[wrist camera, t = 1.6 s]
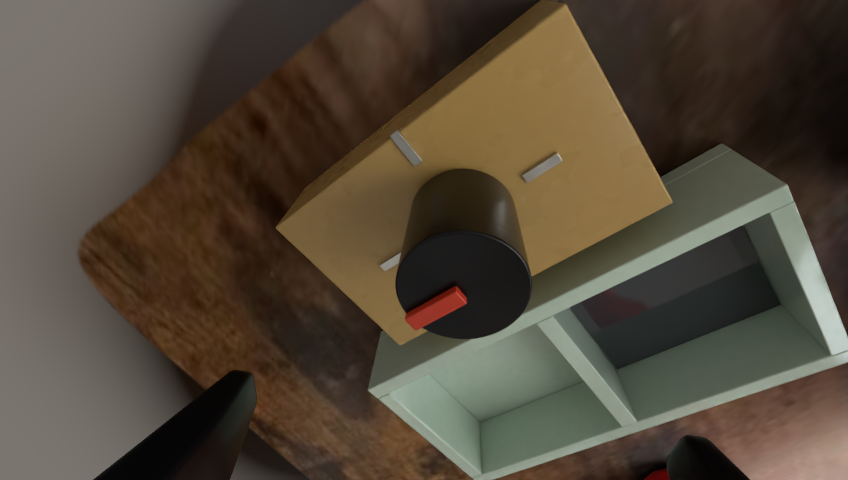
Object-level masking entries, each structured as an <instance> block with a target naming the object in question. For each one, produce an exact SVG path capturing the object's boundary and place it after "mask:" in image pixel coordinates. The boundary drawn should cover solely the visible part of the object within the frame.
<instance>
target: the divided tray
mask: <svg viewBox="0 0 848 480" xmlns="http://www.w3.org/2000/svg"><path fill="white" fill-rule="evenodd" d="M660 178H661V180H662V182H663V183H664V185H665V187H666V189H667V191H668V193H669V194H670V196H671V198H672V200H673V202H672V203H671V204H669V205H668V206H666V207H664V208H662V209H660V210H658V211H656V212H654V213H652V214H650V215H648V216H647V217H645V218H643V219H641V220H639V221H637V222H635V223H633V224H631V225H629V226H627V227H626V228H624V229H622V230H620V231H618V232H616V233H614V234H612V235H610V236H608V237H606V238H605V239H603V240H601V241H599V242H597V243H595V244H593V245H591V246H589V247H587V248H585V249H584V250H582V251H580V252H578V253H576V254H574V255H572V256H570V257H568V258H566V259H564V260H563V261H561V262H559V263H557V264H555V265H553V266H551V267H549V268H547V269H545V270H543V271H542V272H540V273H538V274H536V275H534V276H532V294H531V298H530V300H529V303H528V305H527V307H526V309H525V310H524V312H523V313H522V314H521V316H520V317H519V318H518V319H517V320H516V321H515V322H514V323H513V324H511V325H510V326H508V327H507V328H505V329H504V330H502V331H500V332H498V333H495V334H493V335H490V336H486V337H482V338H477V339H452V338H447V337H443V336H440V335H436V334H434V333H431V332H429V331H427V332H425V333H423V334H421V335H419V336H417V337H416V338H414V339H412V340H410V341H408V342H406V343H404V344H402V345H399V344H398V343H397V342H395V341H394V340H393V339H392V338H391V337H390V336H389V335H388V334H387V333H386V332H385V331H384V330H383V331H381V334H380V338H379V343H378V347H377V351H376V356H375V360H374V364H373V369H372V373H371V377H370V382H369V386H368V391H369V392H370V393H371V394H372V395H374V396H375V397H376V398H378V399H379V400H380V401H381V402H382V403H383V404H385V405H386V406H387V407H388V408H389V409H390V410H392V411H393V412H394V413H395V414H396V415H398V416H399V417H400V418H401V419H402V420H403V421H405V422H406V423H407V424H408V425H409V426H411V427H412V428H413V429H414V430H415V431H417V432H418V433H419V434H420V435H421V436H422V437H424V438H425V439H426V440H427V441H428V442H430V443H431V444H432V445H433V446H434V447H435V448H437V449H438V450H439V451H440V452H441V453H443V454H444V455H445V456H446V457H447V458H449V459H450V460H451V461H452V462H453V463H454V464H456V465H457V466H458V467H459V468H460V469H462V470H463V471H464V472H465V473H466V474H467V475H469V476H470V477H472V479H473V480H494V479H497V478H500V477H503V476H506V475H509V474H512V473H515V472H518V471H521V470H524V469H527V468H530V467H533V466H536V465H539V464H542V463H545V462H548V461H551V460H554V459H557V458H560V457H563V456H566V455H569V454H572V453H575V452H578V451H581V450H584V449H588V448H591V447H594V446H597V445H600V444H603V443H606V442H609V441H612V440H615V439H618V438H621V437H624V436H627V435H630V434H633V433H636V432H639V431H642V430H645V429H648V428H651V427H654V426H657V425H660V424H663V423H666V422H669V421H672V420H675V419H678V418H681V417H684V416H687V415H690V414H693V413H696V412H699V411H702V410H705V409H708V408H711V407H714V406H717V405H720V404H723V403H726V402H729V401H732V400H736V399H739V398H742V397H745V396H748V395H751V394H754V393H757V392H760V391H763V390H766V389H769V388H772V387H775V386H778V385H781V384H784V383H787V382H790V381H793V380H796V379H799V378H802V377H805V376H808V375H811V374H814V373H817V372H820V371H823V370H826V369H829V368H832V367H835V366H838V365H841V364H844V363H847V362H848V335H847V333H846V330H845V328H844V325H843V323H842V320H841V318H840V315H839V313H838V310H837V308H836V305H835V303H834V300H833V297H832V295H831V292H830V290H829V287H828V285H827V282H826V280H825V277H824V275H823V272H822V270H821V267H820V265H819V262H818V259H817V257H816V254H815V252H814V249H813V247H812V244H811V242H810V239H809V237H808V234H807V232H806V229H805V227H804V224H803V221H802V219H801V216H800V214H799V211H798V209H797V206H796V204H795V202H794V201H793V197H792V194H791V192H790V189H789V187H788V185H787V184H786V183H784V182H783V181H781V180H780V179H778V178H776V177H775V176H773V175H772V174H770V173H768V172H767V171H765V170H764V169H762V168H760V167H759V166H757V165H756V164H754V163H753V162H751V161H749V160H748V159H746V158H745V157H743V156H741V155H740V154H738V153H737V152H735V151H733V150H732V149H730V148H729V147H727V146H726V145H724V144H719V145H717V146H716V147H714V148H712V149H710V150H708V151H707V152H705V153H703V154H701V155H699V156H698V157H696V158H694V159H692V160H690V161H688V162H687V163H685V164H683V165H681V166H679V167H678V168H676V169H674V170H672V171H670V172H669V173H667V174H665V175H663V176H661V177H660Z"/></svg>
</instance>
